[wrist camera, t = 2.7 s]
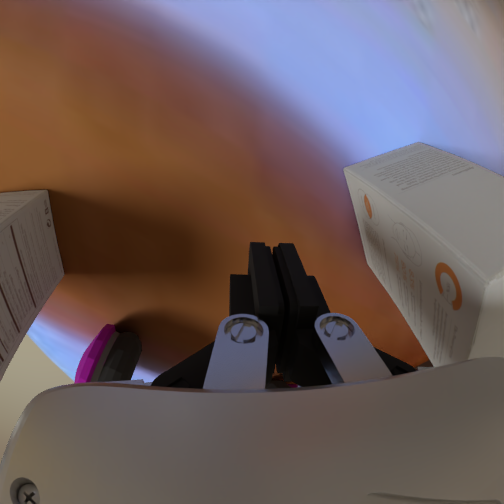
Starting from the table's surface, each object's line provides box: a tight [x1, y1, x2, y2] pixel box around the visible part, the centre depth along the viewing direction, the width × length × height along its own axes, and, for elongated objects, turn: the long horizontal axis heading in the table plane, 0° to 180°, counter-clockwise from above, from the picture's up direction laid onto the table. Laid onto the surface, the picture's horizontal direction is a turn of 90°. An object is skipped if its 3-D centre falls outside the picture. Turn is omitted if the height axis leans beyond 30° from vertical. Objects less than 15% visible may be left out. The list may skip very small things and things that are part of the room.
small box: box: [343, 142, 504, 367], centre depth 13 cm, size 8×6×13 cm
